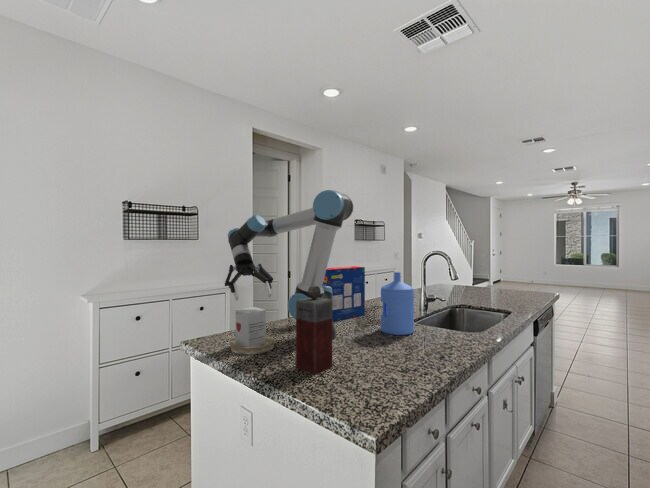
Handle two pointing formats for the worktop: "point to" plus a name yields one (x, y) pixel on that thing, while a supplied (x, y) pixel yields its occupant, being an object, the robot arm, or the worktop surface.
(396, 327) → the water jug
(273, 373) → the worktop surface
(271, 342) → the tan plate
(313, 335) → the red square bottle
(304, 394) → the worktop surface
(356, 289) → the blue toy box
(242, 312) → the supplement box
